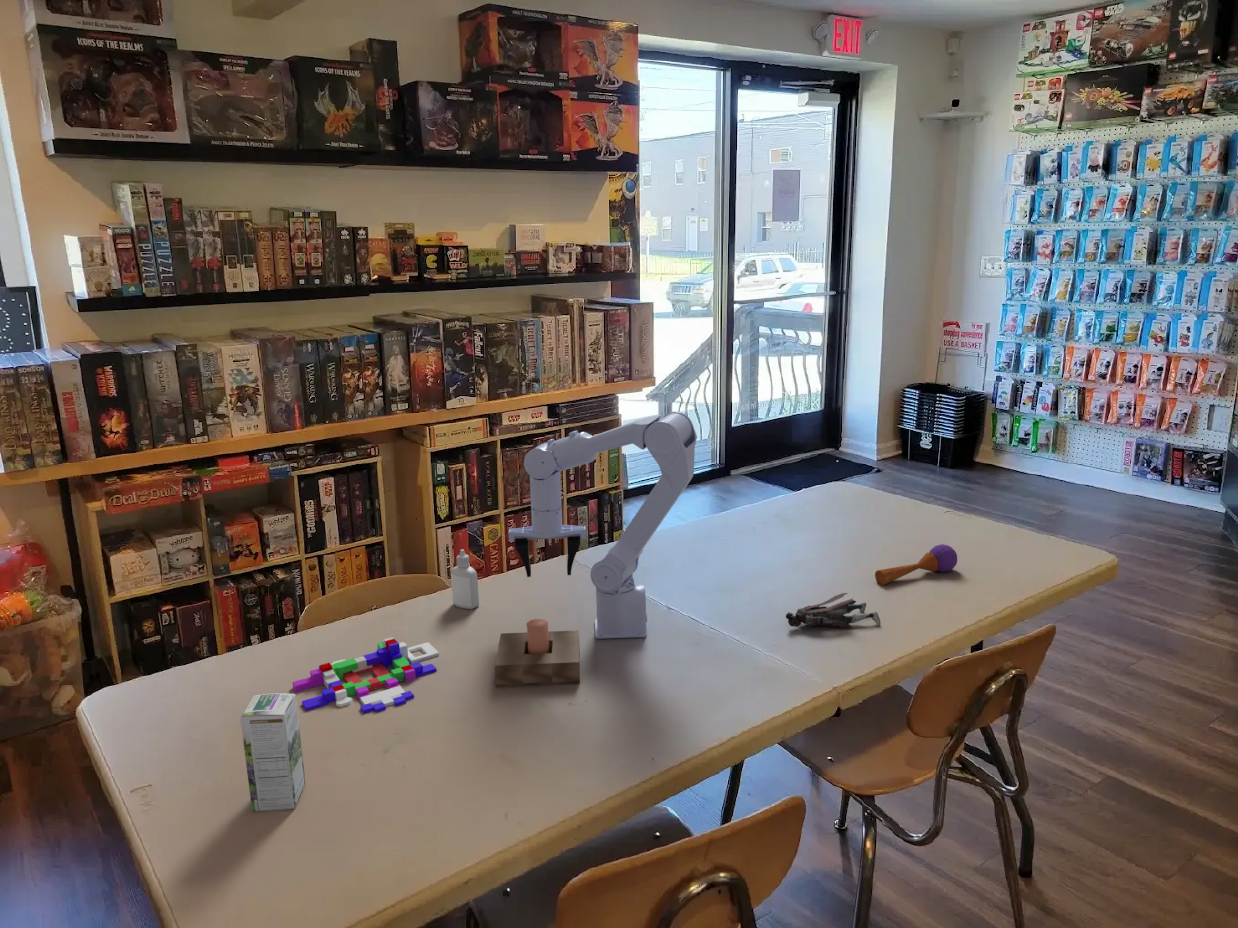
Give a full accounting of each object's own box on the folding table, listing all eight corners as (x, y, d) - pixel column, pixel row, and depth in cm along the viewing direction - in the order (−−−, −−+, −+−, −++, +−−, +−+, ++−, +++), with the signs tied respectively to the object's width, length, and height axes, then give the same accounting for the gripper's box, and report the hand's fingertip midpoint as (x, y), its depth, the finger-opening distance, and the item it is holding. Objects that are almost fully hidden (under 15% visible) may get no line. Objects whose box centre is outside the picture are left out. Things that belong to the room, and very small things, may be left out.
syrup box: (264, 786, 126) (251, 693, 122) (307, 784, 126) (295, 691, 122) (251, 813, 120) (237, 716, 116) (297, 809, 121) (284, 713, 117)
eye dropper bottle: (460, 612, 180) (456, 556, 177) (451, 602, 185) (447, 547, 182) (481, 607, 182) (477, 552, 179) (471, 597, 187) (467, 543, 184)
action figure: (860, 615, 178) (776, 623, 174) (862, 586, 177) (777, 593, 172) (882, 629, 170) (794, 638, 166) (883, 599, 169) (795, 607, 165)
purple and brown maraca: (869, 562, 192) (941, 539, 199) (872, 589, 193) (945, 565, 200) (887, 566, 186) (961, 543, 194) (891, 594, 187) (965, 570, 194)
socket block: (579, 650, 163) (578, 630, 162) (579, 683, 152) (579, 661, 151) (501, 653, 163) (500, 633, 162) (496, 686, 151) (495, 665, 150)
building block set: (319, 733, 140) (315, 707, 138) (285, 679, 156) (282, 656, 155) (468, 686, 153) (466, 662, 152) (422, 641, 169) (420, 619, 168)
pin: (547, 659, 159) (545, 617, 157) (552, 668, 156) (550, 625, 154) (527, 662, 158) (524, 620, 156) (531, 671, 155) (529, 629, 153)
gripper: (584, 499, 174) (586, 564, 178) (508, 501, 173) (512, 567, 177) (585, 510, 167) (587, 578, 171) (506, 513, 166) (510, 581, 170)
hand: (549, 574), depth 173 cm, fingers open, 7 cm apart
